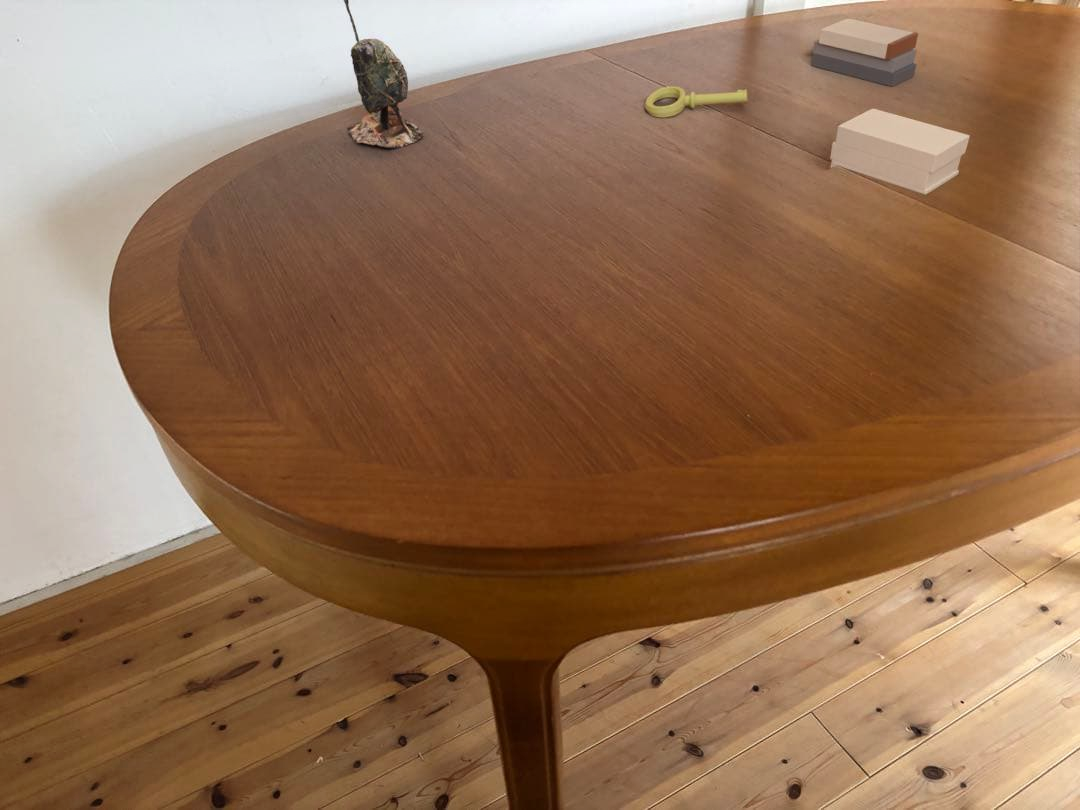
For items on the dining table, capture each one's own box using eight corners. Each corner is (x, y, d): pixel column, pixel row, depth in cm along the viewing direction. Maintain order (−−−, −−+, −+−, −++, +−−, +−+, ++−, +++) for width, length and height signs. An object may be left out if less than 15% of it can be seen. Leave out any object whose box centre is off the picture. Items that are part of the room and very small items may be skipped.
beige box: (955, 187, 88) (970, 135, 85) (923, 208, 85) (936, 155, 82) (860, 157, 95) (870, 107, 91) (826, 175, 92) (835, 124, 88)
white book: (915, 48, 111) (918, 32, 110) (889, 60, 108) (892, 44, 107) (845, 32, 117) (847, 17, 116) (818, 43, 114) (820, 28, 113)
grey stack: (914, 76, 112) (919, 50, 110) (892, 87, 110) (897, 60, 108) (832, 56, 120) (836, 31, 118) (810, 65, 117) (814, 40, 115)
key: (751, 111, 106) (753, 93, 104) (649, 119, 105) (649, 102, 104) (735, 90, 111) (737, 73, 110) (639, 98, 111) (639, 81, 110)
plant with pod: (366, 164, 99) (332, -29, 86) (343, 129, 107) (308, -52, 95) (435, 150, 101) (411, -41, 89) (407, 117, 109) (382, -62, 97)
